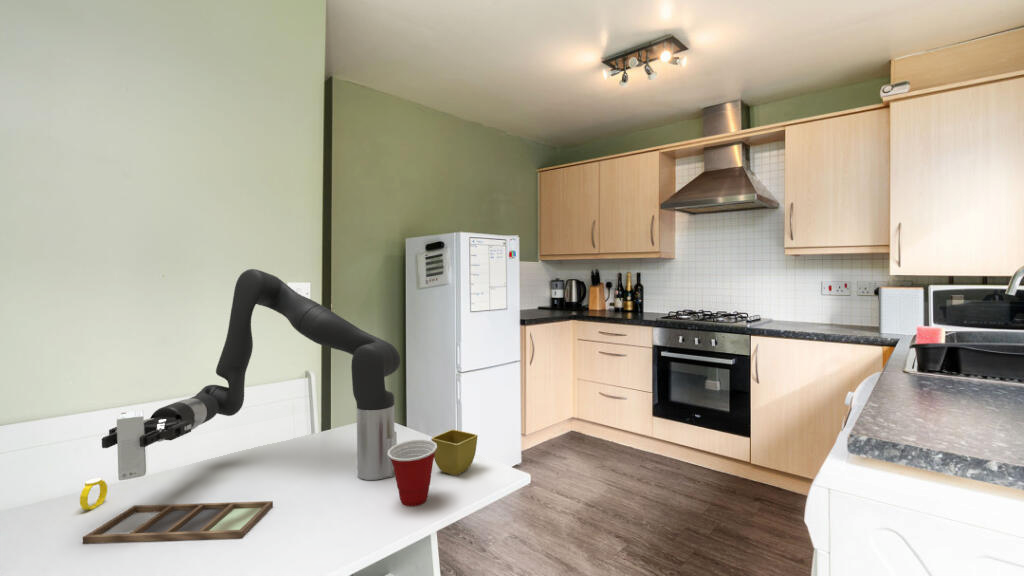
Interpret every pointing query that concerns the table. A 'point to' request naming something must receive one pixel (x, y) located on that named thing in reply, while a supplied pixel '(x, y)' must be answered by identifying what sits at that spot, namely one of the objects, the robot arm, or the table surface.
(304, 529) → the table surface
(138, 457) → the skincare box
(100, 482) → the watch
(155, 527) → the divided wooden frame
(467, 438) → the flower pot
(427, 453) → the plastic cup
